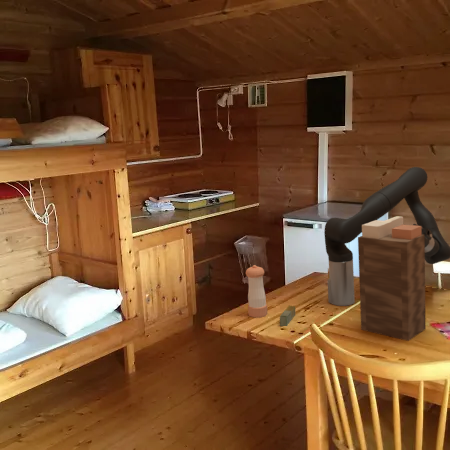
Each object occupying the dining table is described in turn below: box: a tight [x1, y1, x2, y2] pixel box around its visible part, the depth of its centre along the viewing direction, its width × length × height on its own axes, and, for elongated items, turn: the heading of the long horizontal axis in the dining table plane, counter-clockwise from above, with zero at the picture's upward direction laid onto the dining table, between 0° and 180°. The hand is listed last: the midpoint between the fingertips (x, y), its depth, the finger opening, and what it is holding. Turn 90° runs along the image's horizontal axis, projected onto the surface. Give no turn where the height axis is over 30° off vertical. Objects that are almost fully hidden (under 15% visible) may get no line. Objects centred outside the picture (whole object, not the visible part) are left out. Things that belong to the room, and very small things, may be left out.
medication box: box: [279, 305, 296, 327], centre depth 198 cm, size 12×3×4 cm, turn 158°
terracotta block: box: [392, 224, 422, 240], centre depth 174 cm, size 7×6×3 cm
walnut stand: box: [357, 234, 427, 342], centre depth 180 cm, size 12×17×32 cm
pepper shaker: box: [245, 264, 268, 318], centre depth 206 cm, size 7×7×19 cm
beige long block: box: [361, 215, 404, 239], centre depth 183 cm, size 20×6×4 cm, turn 135°
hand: (402, 225), depth 192 cm, fingers open, 8 cm apart
